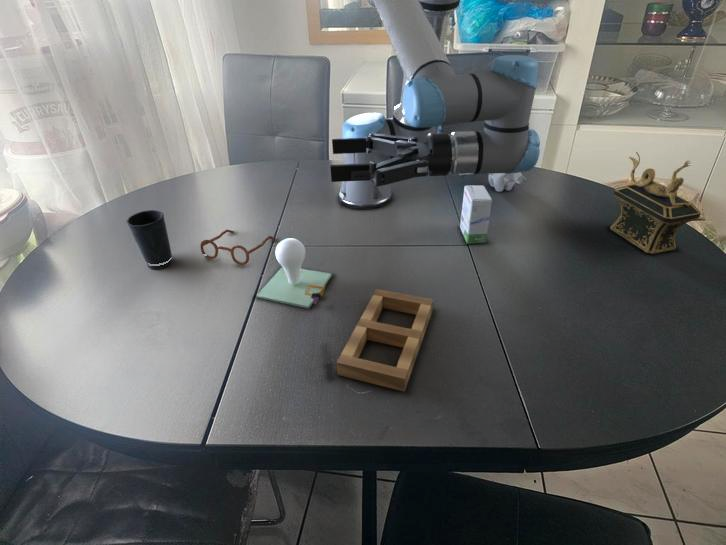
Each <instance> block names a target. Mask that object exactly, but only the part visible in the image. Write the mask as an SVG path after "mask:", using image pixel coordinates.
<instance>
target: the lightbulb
mask: <svg viewBox="0 0 726 545" xmlns="http://www.w3.org/2000/svg"><path fill="white" fill-rule="evenodd" d="M274 252H275V258H276V261H277V262H278V263H279V265H280V266H281V267H283V268H284V270H285V272H286V276H287V277H288V281H289V284H291V285H297V284H299V283H300V274H301V269H302V265H303V263H304V261H305V258H306V255H307V253H306V248H305V246H304V244H303V243H302V242H301V241H300V240H299V239H296V238H292V237H289V238H287V237H286V238H285V239H282V240H281V241H279V243H277V245H276V248H275V251H274Z"/></svg>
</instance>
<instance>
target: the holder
mask: <svg viewBox="0 0 726 545" xmlns="http://www.w3.org/2000/svg"><path fill="white" fill-rule="evenodd" d="M384 309H385V310H390V311H395V312H400V313H406V314H411V315H415V318H414V320H413V324H412V325H411V328H407V327H403V326H398V325H394V324H389V323H383V322H380V321H378V319H379V317H380V315H381V313H382V311H383V310H384ZM433 311H434V299H433V298H428V297H423V296H416V295H412V294H406V293H400V292H396V291H392V290H391V291H389V290H385V289H380V288H376V289H375V291H374V293H373V294H372V297H371V298H370V300H369V302H368V304H367V306H366V308H365V310H364V311H363V313H362V315H361V317H360V318H359V320H358V322H357V324H356V325H355V328H354V330H353V331H352V333H351V335H350V337H349V338H348V341H347V342H346V344H345V346H344V348H343V350H342V352H341V354H340V355H339V357H338V359H337V361H336V372H337V376H341V377H345V378H348V379H353V380H357V381H360V382H364V383H369V384H372V385H376V386H380V387H385V388H387V389H392V390H396V391H399V392H405V391H406V388H407V386H408V384H409V380H410V377H411V374H412V372H413V369H414V366H415V362H416V360H417V357H418V355H419V351H420V349H421V345H422V343H423V340H424V337H425V334H426V331H427V328H428V325H429V323H430V321H431V317H432V315H433ZM367 341H371V342H376V343H380V344H385V345H388V346H394V347H399V348H403V349H402V351H401V354H400V356H399V359H398V361H397V364H396V366H393V365H390V364H384V363H381V362H376V361H371V360H367V359H364V358H360V355H361V353H362V352H363V349H364V347H365V346H366V343H367Z"/></svg>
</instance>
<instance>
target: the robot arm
mask: <svg viewBox="0 0 726 545" xmlns="http://www.w3.org/2000/svg"><path fill="white" fill-rule="evenodd" d="M367 2H368V4H369V5H370V6H371V7H372V8H374V9H375V10H377V13H378V15H379V18H380V20H381V22H382V25H383V27H384V29H385V31H386V34H387V37H388V39H389V41H390V44H391V46H392V48H393V51H394V52H395V55H396V57H397V60H398V62H399V64H400V67H401V69H402V72H403V79H402V87H401V88H402V89H401V94H400V103H399V104H397V105H396V106H394V108H393V113H392V117H389V118H386V117H385V115H384V114H383V113H380V112H366V113H361V114H356V115H353V116H352V117H350V118H348V119H347V120H345V121H344V123H343V124H342V129H341V130H342V134H341V135H342V136H341V138H332V139H331V143H332V155H341V154H342V157H343V164H330V166H329V167H330V182H331V183H337V182H338V183H339V182H341V185H340V189H339V192H338V196H339V197H338V198H339V201H340V203H341V204H342V205H343V206H345V207H348V208H351V209H355V210H372V209H373V210H374V209H379V208H382V207H383V206H386V205H388V204H389V203H390V202H391V200H392V190H391V189H392V188H391V186H390V184H394V183H399V182H402V181H403V182H404V181H406V180H410V179H414V178H423V177H428V176H429V177H443V176H444V177H445V176H448V175H449V174H450V175H452V176H460V177H462V178H464V177H466V175H484V174H485V175H489V174H494V173H505V174H510V173H518V172H521V173H523V172H530V171H531V170H532V169H534V167H535V166H536V165H537V163H538V161H539V158H540V153H541V149H540V146H541V140H540V136H539V134H538V132H537V131H536V130H535V129H532V128H530V118H531V114H532V108H533V104H534V98H535V94H536V90H537V88H538V77H539V62H538V60H537V59H536V58H534V57H533V56H528V55H519V54H507V55H501V56H496V57H495V58H493V59H492V61H491V66H490V68H489V71H483V72H472V73H463V74H461V73H460V74H456V73H455V70H454V68H453V67H452V65H451V63H450V61H449V58H448V56H447V54H446V53H445V50H444V49H445V45H446V40H447V35H448V29H449V24H450V18H451V15H452V13H453V12H455V11H456V10H457V9H458V8H459V7H460V4H461V0H367ZM474 122H475V123H476V122H484V123H483V127H484V128H483V130H480V131H477V130H476V131H472V130H471V131H470V130H469V131H451V133H450V134H449V133H448V132H441V131H442V126H451V125H457V124H465V123H474Z"/></svg>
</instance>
